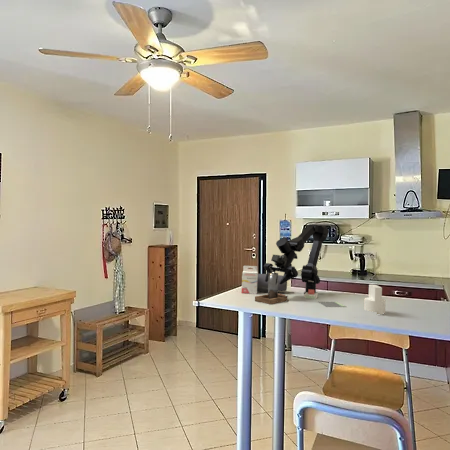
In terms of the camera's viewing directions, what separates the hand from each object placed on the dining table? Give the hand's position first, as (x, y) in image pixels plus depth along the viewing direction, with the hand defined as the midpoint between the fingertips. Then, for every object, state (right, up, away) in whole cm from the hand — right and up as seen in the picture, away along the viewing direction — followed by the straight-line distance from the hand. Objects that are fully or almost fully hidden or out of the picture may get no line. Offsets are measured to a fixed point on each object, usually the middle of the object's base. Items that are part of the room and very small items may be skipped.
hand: (272, 282), depth 202 cm
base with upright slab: (+44, -11, -20) cm, 49 cm away
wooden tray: (-1, -9, 0) cm, 9 cm away
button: (+21, -7, +6) cm, 23 cm away
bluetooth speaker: (-1, -9, +26) cm, 28 cm away
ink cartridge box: (-11, -9, +20) cm, 25 cm away
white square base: (+20, -10, +6) cm, 24 cm away
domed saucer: (+5, -9, +12) cm, 16 cm away
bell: (0, -8, 0) cm, 8 cm away
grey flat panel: (+27, -10, -10) cm, 31 cm away
